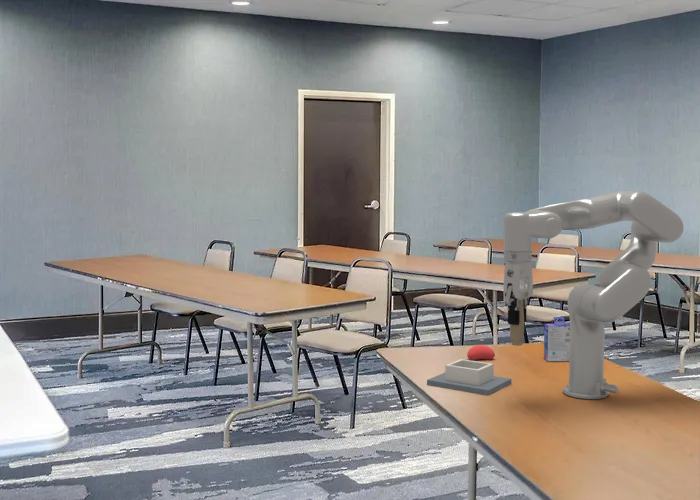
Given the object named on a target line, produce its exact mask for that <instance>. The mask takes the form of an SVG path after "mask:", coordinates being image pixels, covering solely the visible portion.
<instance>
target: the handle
mask: <svg viewBox="0 0 700 500" xmlns="http://www.w3.org/2000/svg"><path fill="white" fill-rule="evenodd" d="M525 297H528V292H526V293H525ZM528 298H529V297H528ZM511 299H516V298H515V297H512V298H511ZM523 300H524V299H522V300H519V306H518V310H519V311H520V322H519V325H512V324H509V337H510V339H511V340H510V342H511V346H516V347H517V346H518V347H519V346H523V343H524V341H523V339H524V336H525V322H524V308H523ZM512 302H514V303H515V301H512Z"/></svg>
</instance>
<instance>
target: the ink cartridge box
mask: <svg viewBox="0 0 700 500" xmlns="http://www.w3.org/2000/svg"><path fill="white" fill-rule="evenodd" d="M543 324H544V325H543V359H544V360H545V361H546V362H569V358H570V322H569V323H567V322H566V321H565V317H564V316H554V317H553V323H543Z"/></svg>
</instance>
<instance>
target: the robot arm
mask: <svg viewBox="0 0 700 500" xmlns="http://www.w3.org/2000/svg"><path fill="white" fill-rule="evenodd" d="M624 221H629V222H631V225H630V232H631V233H630V241H629V244H628V246H627V247H626V248H625V249H624V250H623V251H622V252H621V253H620V254H618V255H617V256H616V257H615V258H613V260H611V261H610V262H609V263H608V264H606V265H605V266H604V267H603V268H602V270H601V271H600V272H599V274H598V277H597V282H598V285H596V284H590V283H581V284H578V285H576V286H574V287H573V288H572V289H571V290H570V292H569V294H568V297H567V309H568V315H569V323H570V358H569V361H568V362H569V363H568V364H569V365H568V366H569V369H568V384H567V385H565V386H564V387H563V388H562V393H563V394H565V395H566V396H569V397H570V398H571V397H573V398H575V399H586V400H597V399H598V400H600V399H605V398H607V397H608V396H609V393H613V394H617V393H618V391H619V390H618V389H619V387H618V386H617V385H616V384H611V383H608V382H607V378H604V366H605V363H604V362H605V342H606V341H605V340H606V334H605V333H606V331H605V325H604V324H610V323H615V321H618V320H619V319H620V318H622V317H623V316H624V315H625V314H626V313H628V312H629V311H630V310H632V308H634V307H635V306H636V305H637V304H638V303H639V302H640V301H641V300H643V299H644V298H645V296H646V295H647V294H648V293H649V290H650V288H651V285H652V277H651V275H650V274H651V273H649V271H648V270H649V269H651V267H652V266H653V265H654V263H655V260H656V254H657V243H663V244H664V243H665V244H667V243H668V244H669V243H674V242H676V241H677V240H679V239H680V238H681V237H682V235H683V232H684V223H683V220H682V219H681V217H680V216H679V215H678V214H677V213H676V212H675V211H673V209H670V208H669V207H667V206H666V205H665V204H663V203H662V202H661V201H659V200H658V199H656V198H655V197H653V196H652V195H651V194H649V193H647V192H644V191H640V190H619V191H617V190H616V191H614V192H609V193H605V194H600V195H597V196H592V197H588V198H584V199H576V200H571V201H568V202H561V203H560V202H559V203H555V204H550V205H546V206H540V207H536V208H533V209H532V208H531V209H529V210H527V211H525V212H523V211H516V212H515V211H513V212H507V213H506V214H505V215H504V218H503V263H504V272H503V297H504V302H505V304H506V306H507V307H506V308H507V324H508V325H510V324H512V325H519V322H520V311H519V310H518V306H519V300H522V299H524V300H523V308H524V323H526V322H527V307H528V300H529V298H530V297H532V296H533V294H534V282H533V281H534V280H533V268H532V267H533V266H532V263H533V262H532V261H533V258H532V257H533V256H532V255H533V253H532V252H533V250H532V249H533V247H532V246H533V240H532V239H533V238H535V239H536V238H537V239H546V240H547V239H553V238H555V237H557V236H559V235H560V234H561V232H562V230H590V229H594V228H598V227H599V228H600V227H603V226H606V225H610V224H611V225H612V224H615V223H619V222H624ZM526 292H528V297H525V293H526ZM512 297H515V298H516V299H511V298H512ZM512 301H515V303H514V302H512Z"/></svg>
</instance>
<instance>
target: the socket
mask: <svg viewBox="0 0 700 500" xmlns="http://www.w3.org/2000/svg"><path fill="white" fill-rule="evenodd" d="M494 366H495V364H494V363H491V362H490V363H489V362H482V361H478V360H470V359H465V358H464V359H462V358H460V359H457V360H454V361H453V362H450V363H447V364H445V365H444V367H445V368H444V372H443V373H440V374H439V375H435V376H433V377H430V378H428V379H426V385H427V386H431V387H437V388H443V389H449V390H453V391H454V390H455V391H459V392H461V391H462V392H465V393H466V392H467V393H470V394H471V393H472V394H476V395H477V394H478V395H483V396H490V395H491V394H494V393H495V392H498V391H500V390H502V389H504V388H506V387H508V386H510V385H512V380H513V379H512V378H508V377H501V376H497V375H495V374H494V372H495V371H494V368H495V367H494Z"/></svg>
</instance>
